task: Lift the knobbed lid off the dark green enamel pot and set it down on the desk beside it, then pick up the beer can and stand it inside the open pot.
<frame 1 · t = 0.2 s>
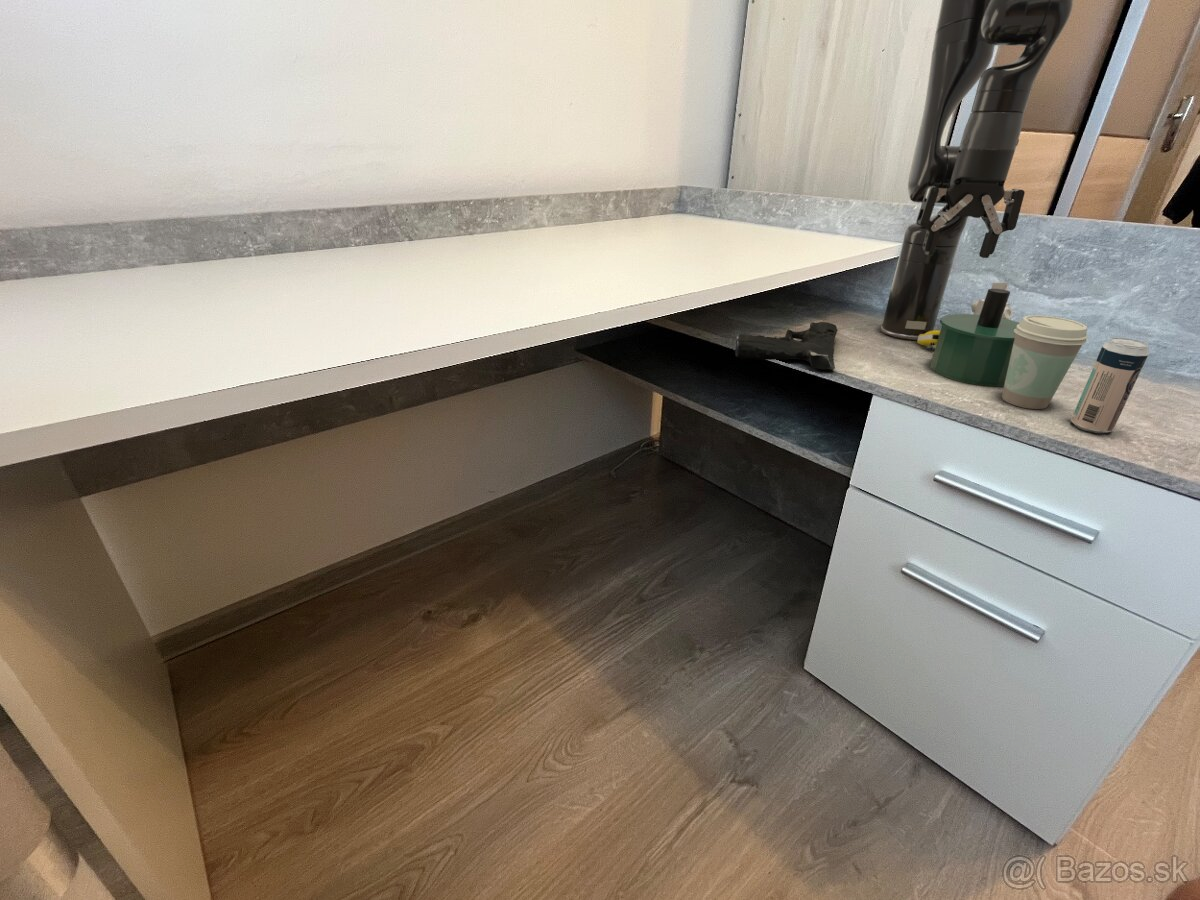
hand: (955, 255, 99), 17 cm above the table, tool pointing down, fingers open, 8 cm apart
coffee cup: (1023, 402, 89), on the table
beer can: (1089, 428, 81), on the table
pot: (972, 372, 100), on the table
lid: (986, 328, 96), point 7 cm above the table, touching pot
yellow curved piece: (947, 350, 111), on the table
handgun: (839, 347, 106), point 1 cm above the table
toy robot: (979, 346, 113), on the table
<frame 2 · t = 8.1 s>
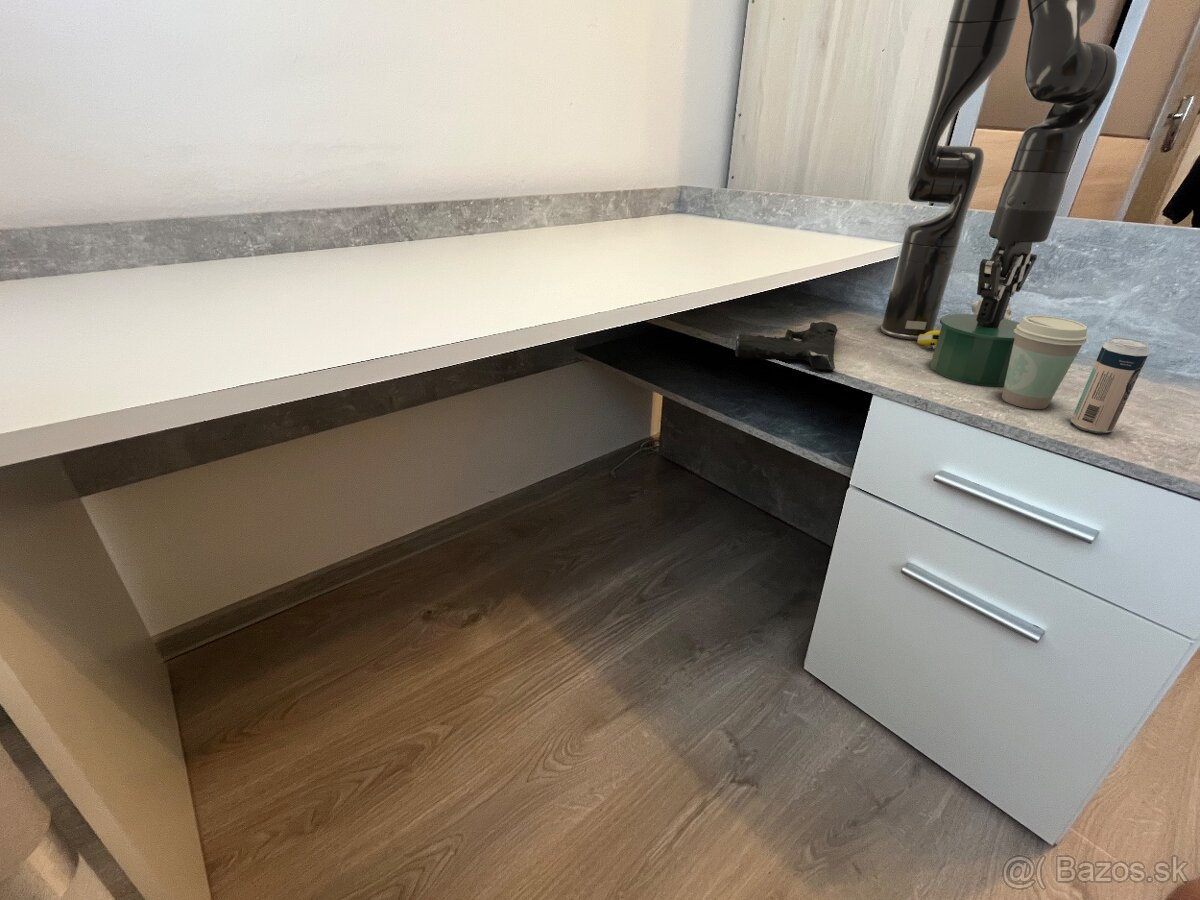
hand: (989, 320, 96), 9 cm above the table, tool pointing down, fingers closed on lid, 3 cm apart
lid: (986, 328, 96), point 7 cm above the table, touching gripper, pot
everything else where it was.
when the fingers open (2 cm above the table, at t = 15.2 s): lid stays where it is, point 1 cm above the table.
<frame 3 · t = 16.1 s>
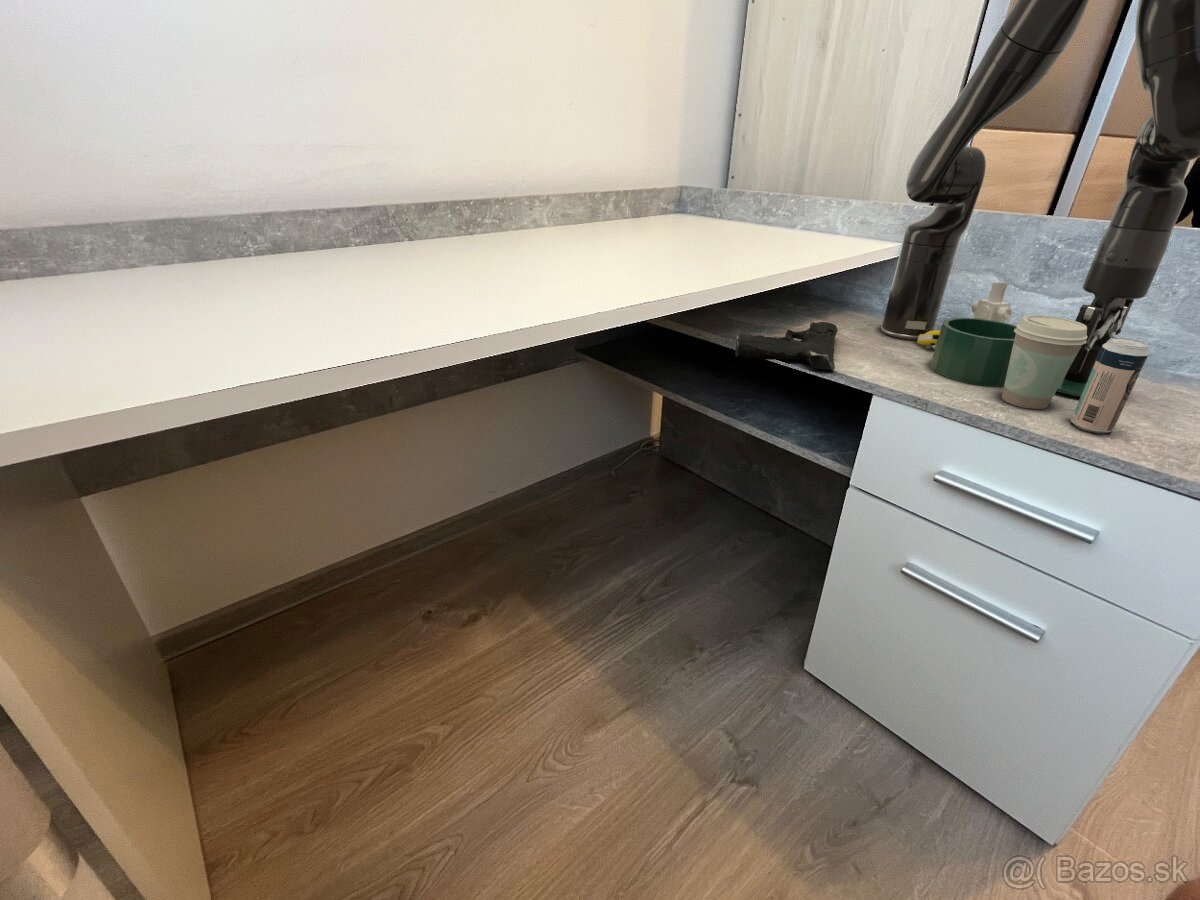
hand: (1081, 367, 94), 3 cm above the table, tool pointing down, fingers open, 8 cm apart
lid: (1074, 382, 95), point 1 cm above the table
everything else where it was.
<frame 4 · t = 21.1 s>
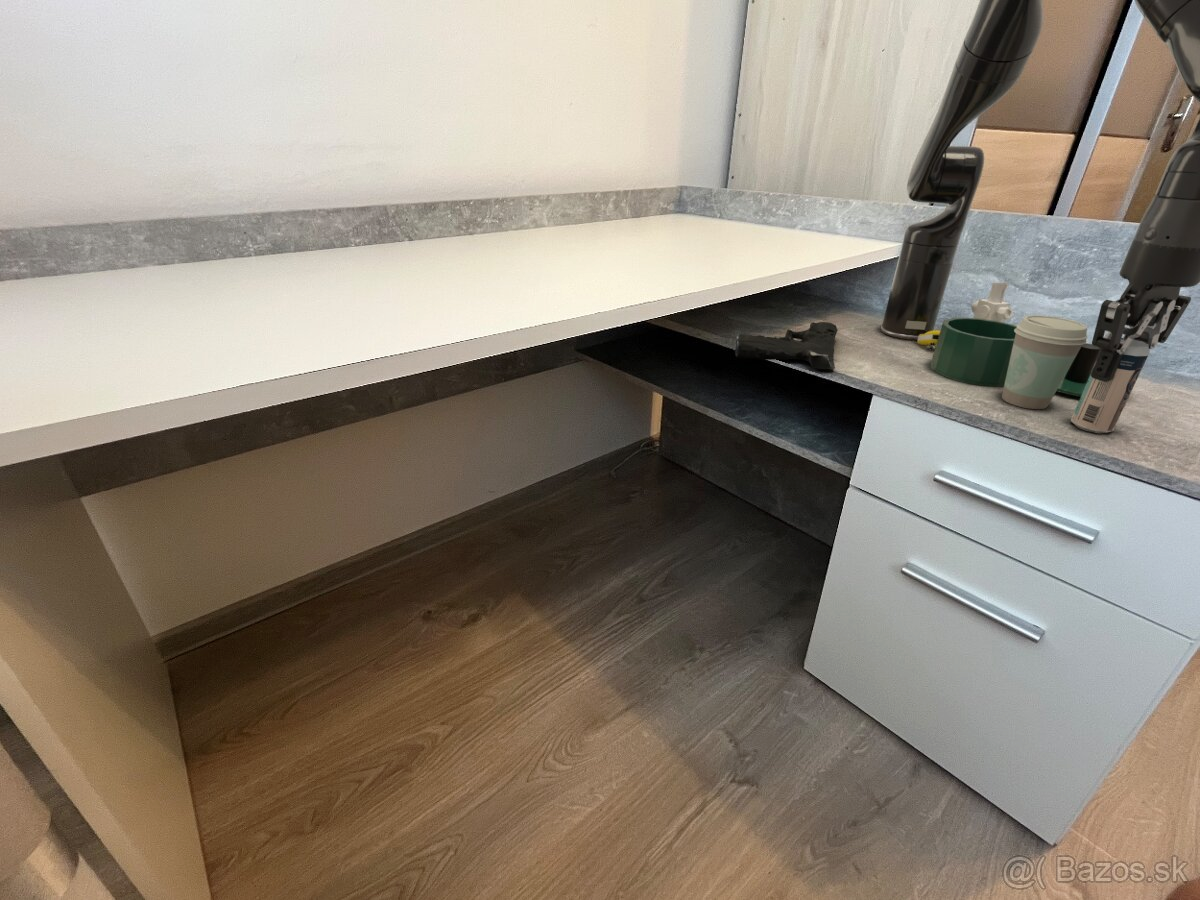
hand: (1113, 376, 78), 7 cm above the table, tool pointing down, fingers closed on beer can, 4 cm apart
beer can: (1090, 428, 81), on the table, touching gripper
everything else where it was.
when the fingers open (8 cm above the table, at t = 28.9 s): beer can stays where it is, resting on pot.
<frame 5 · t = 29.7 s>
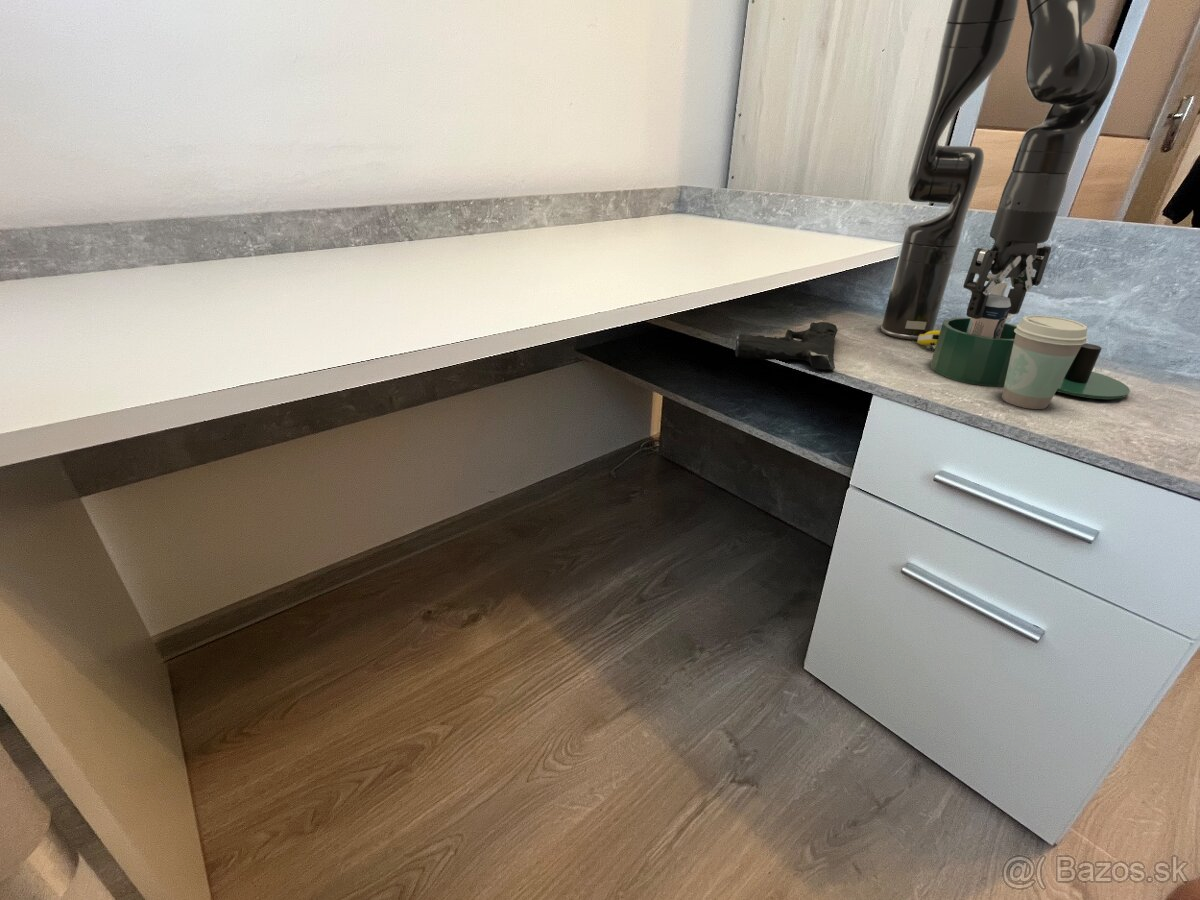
hand: (992, 315, 96), 10 cm above the table, tool pointing down, fingers open, 8 cm apart
beer can: (971, 370, 100), resting on pot
everything else where it was.
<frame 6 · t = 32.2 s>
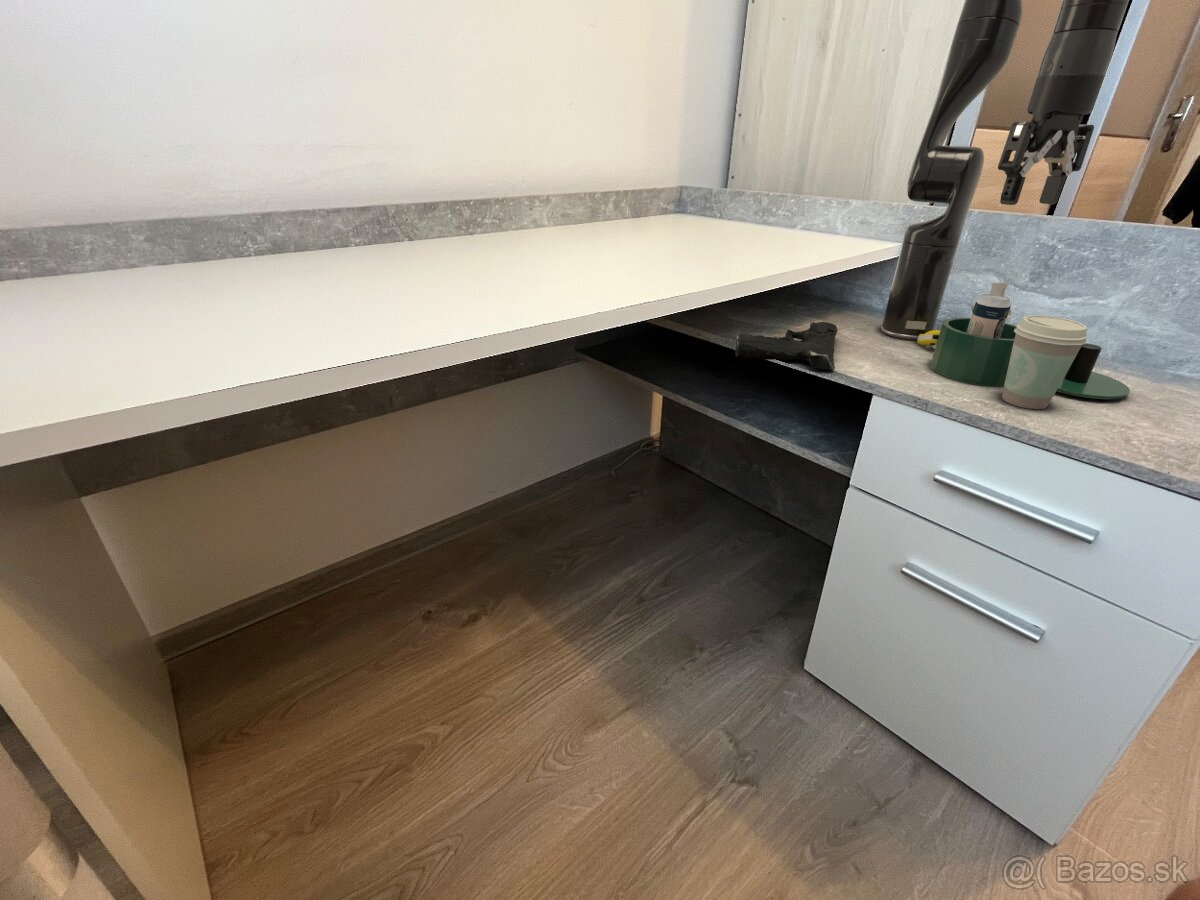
hand: (1027, 204, 88), 26 cm above the table, tool pointing down, fingers open, 8 cm apart
nothing on the table moved.
at the end: lid inside the target area (0.3 cm from its centre), point 0.6 cm above the table; beer can 0.3 cm off-centre in the pot, point 0.3 cm above the pot's base; beer can tilted 0° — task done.
